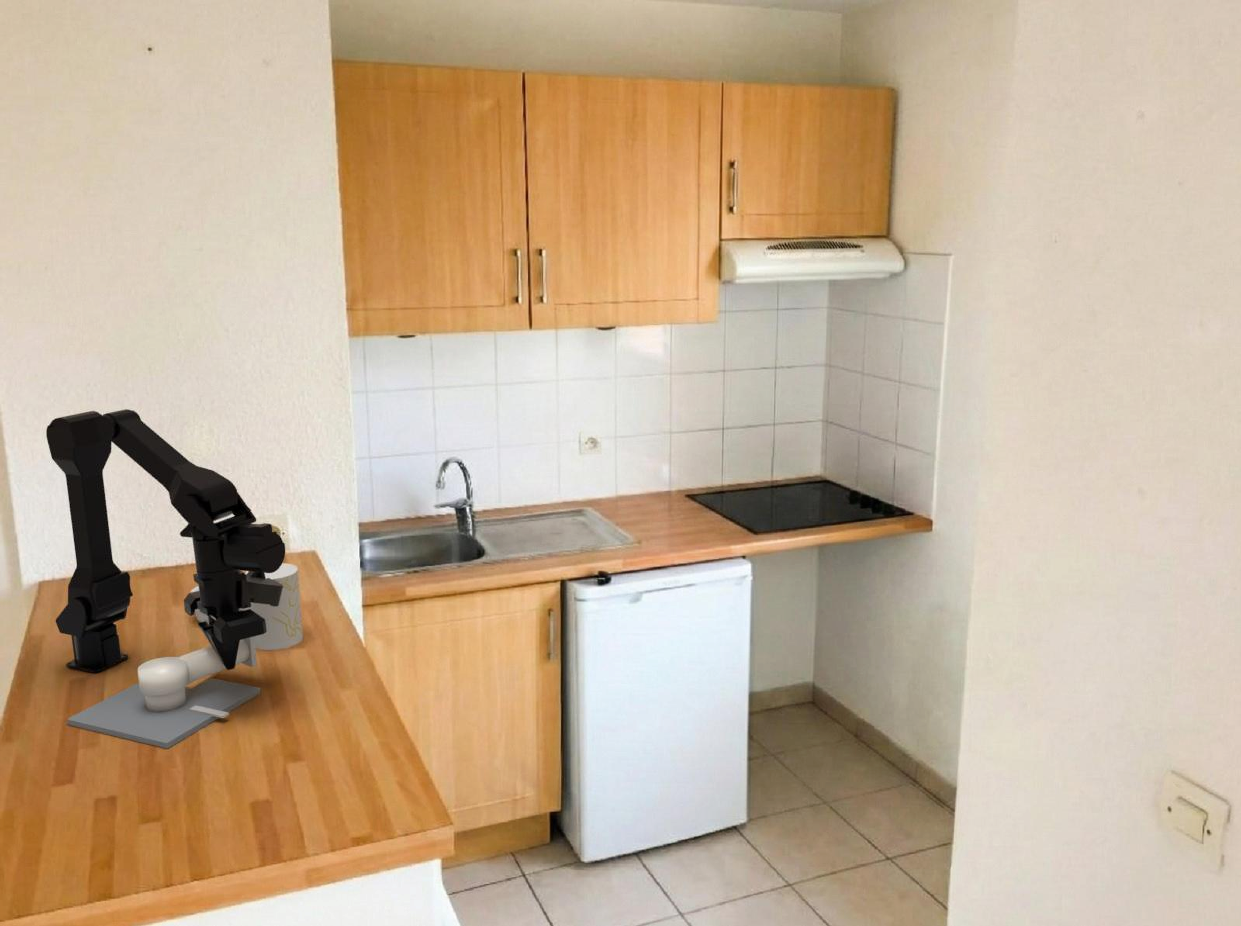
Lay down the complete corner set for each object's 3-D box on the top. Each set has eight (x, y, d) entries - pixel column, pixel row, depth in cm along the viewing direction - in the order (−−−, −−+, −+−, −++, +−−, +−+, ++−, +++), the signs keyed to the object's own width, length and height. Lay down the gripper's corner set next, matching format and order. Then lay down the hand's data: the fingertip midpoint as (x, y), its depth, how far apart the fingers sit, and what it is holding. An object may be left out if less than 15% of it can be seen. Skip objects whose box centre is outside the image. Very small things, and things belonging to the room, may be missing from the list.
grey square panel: (67, 724, 149) (64, 703, 148) (175, 668, 166) (173, 649, 166) (177, 751, 141) (175, 728, 141) (278, 690, 159) (277, 669, 158)
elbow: (156, 707, 148) (152, 674, 147) (131, 694, 152) (128, 663, 151) (260, 667, 161) (257, 637, 160) (235, 656, 165) (232, 627, 164)
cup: (287, 651, 173) (282, 581, 170) (241, 647, 174) (235, 577, 172) (311, 632, 181) (306, 564, 178) (267, 629, 182) (261, 561, 179)
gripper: (296, 568, 151) (308, 672, 155) (251, 542, 166) (263, 638, 169) (216, 586, 145) (229, 694, 148) (176, 558, 160) (190, 657, 163)
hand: (230, 669), depth 157 cm, fingers closed
